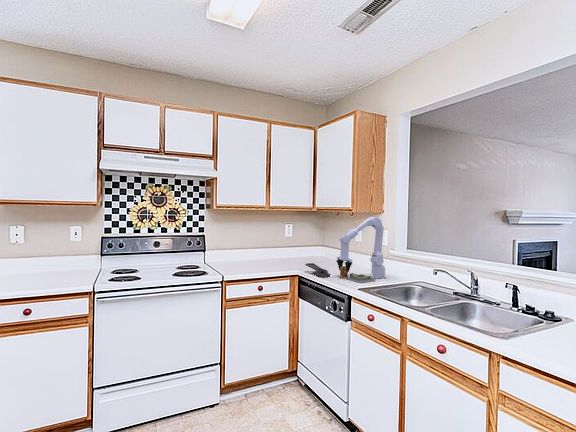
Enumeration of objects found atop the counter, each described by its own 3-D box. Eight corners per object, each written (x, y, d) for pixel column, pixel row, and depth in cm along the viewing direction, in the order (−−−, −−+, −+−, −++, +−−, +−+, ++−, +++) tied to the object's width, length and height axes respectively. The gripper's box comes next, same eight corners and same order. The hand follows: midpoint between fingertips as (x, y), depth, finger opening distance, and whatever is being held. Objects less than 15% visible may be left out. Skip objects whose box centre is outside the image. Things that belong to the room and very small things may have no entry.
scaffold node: (358, 276, 242) (358, 271, 242) (375, 281, 227) (375, 275, 227) (343, 278, 235) (343, 272, 235) (360, 283, 220) (360, 277, 220)
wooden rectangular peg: (345, 276, 240) (345, 266, 240) (347, 277, 237) (348, 266, 237) (340, 277, 238) (340, 266, 237) (342, 278, 235) (343, 267, 235)
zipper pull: (313, 262, 260) (332, 268, 238) (313, 271, 260) (332, 277, 238) (304, 263, 256) (321, 269, 234) (303, 272, 256) (321, 278, 234)
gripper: (333, 251, 241) (333, 269, 242) (346, 253, 229) (346, 273, 229) (341, 250, 245) (340, 268, 245) (354, 253, 232) (354, 272, 233)
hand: (344, 270), depth 237 cm, fingers open, 7 cm apart
